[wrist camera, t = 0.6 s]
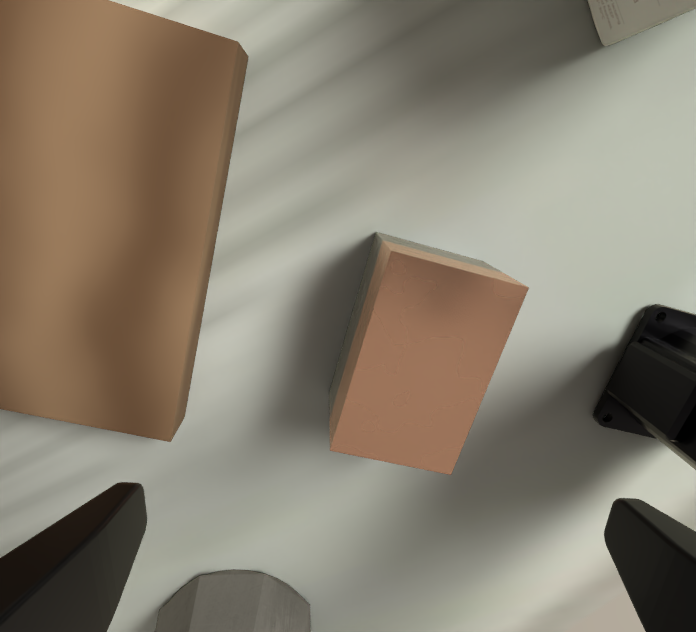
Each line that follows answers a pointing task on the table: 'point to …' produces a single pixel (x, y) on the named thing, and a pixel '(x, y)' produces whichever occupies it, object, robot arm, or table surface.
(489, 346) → the block
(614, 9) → the supplement box
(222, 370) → the table surface
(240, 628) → the coffeepot
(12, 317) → the walnut stand
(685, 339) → the robot arm
